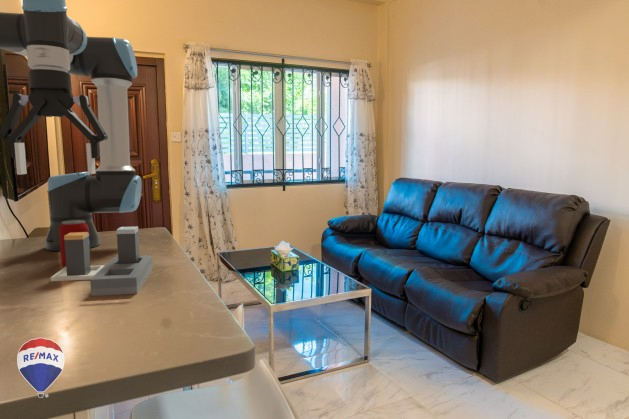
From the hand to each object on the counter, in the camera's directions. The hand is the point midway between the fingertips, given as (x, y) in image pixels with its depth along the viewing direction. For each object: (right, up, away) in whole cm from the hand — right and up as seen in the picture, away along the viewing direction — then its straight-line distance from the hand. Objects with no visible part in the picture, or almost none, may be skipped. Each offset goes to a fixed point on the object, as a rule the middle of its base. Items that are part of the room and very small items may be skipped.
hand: (57, 174), depth 93 cm
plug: (-2, -23, +13) cm, 27 cm away
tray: (-2, -24, +13) cm, 27 cm away
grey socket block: (+11, -25, +8) cm, 28 cm away
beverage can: (-8, -23, +23) cm, 33 cm away
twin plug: (+10, -22, +13) cm, 27 cm away
